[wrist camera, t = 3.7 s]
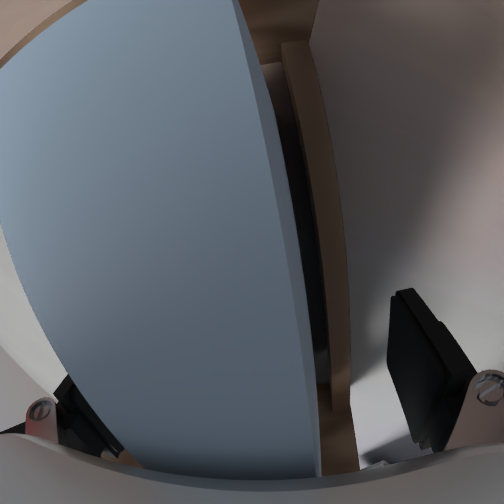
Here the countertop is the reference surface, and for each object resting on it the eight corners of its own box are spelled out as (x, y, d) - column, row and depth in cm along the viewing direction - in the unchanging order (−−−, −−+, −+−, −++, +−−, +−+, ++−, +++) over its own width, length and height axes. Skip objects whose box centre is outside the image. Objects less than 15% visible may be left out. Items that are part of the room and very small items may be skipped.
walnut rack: (300, 39, 12) (315, -75, 3) (345, 389, 20) (360, 498, 11) (41, 132, 16) (-69, 150, 6) (140, 396, 24) (98, 477, 14)
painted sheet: (275, 114, 14) (216, -53, 1) (313, 355, 19) (321, 549, 6) (221, 125, 15) (-18, 87, 2) (272, 360, 20) (251, 550, 7)
